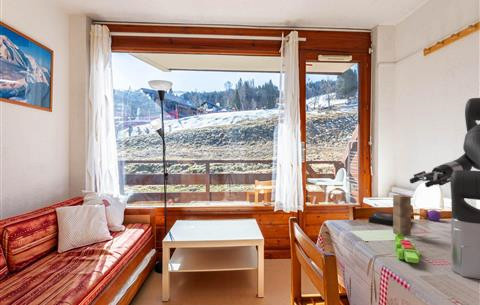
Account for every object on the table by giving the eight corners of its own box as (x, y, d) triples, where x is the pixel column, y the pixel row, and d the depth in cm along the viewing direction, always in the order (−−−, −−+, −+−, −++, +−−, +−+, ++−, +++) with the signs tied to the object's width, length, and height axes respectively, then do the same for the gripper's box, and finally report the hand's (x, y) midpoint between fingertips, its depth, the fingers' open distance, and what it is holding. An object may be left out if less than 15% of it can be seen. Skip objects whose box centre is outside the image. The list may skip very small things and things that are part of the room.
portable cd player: (376, 217, 155) (376, 211, 155) (410, 222, 144) (410, 215, 144) (368, 223, 142) (368, 216, 142) (405, 230, 131) (405, 222, 131)
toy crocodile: (423, 269, 88) (423, 251, 88) (400, 265, 91) (400, 248, 91) (411, 248, 106) (411, 233, 106) (392, 246, 109) (392, 231, 109)
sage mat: (401, 230, 129) (401, 229, 129) (422, 240, 115) (422, 239, 115) (349, 231, 128) (349, 230, 128) (364, 241, 114) (364, 240, 114)
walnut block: (403, 232, 125) (404, 194, 124) (411, 236, 120) (411, 196, 119) (393, 232, 124) (393, 195, 124) (400, 236, 119) (400, 197, 119)
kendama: (400, 208, 161) (441, 210, 147) (401, 218, 160) (442, 221, 146) (397, 207, 157) (439, 210, 143) (398, 218, 156) (440, 221, 142)
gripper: (432, 162, 129) (404, 173, 126) (461, 166, 115) (429, 178, 113) (435, 176, 130) (407, 187, 127) (464, 181, 116) (433, 194, 114)
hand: (418, 183), depth 120 cm, fingers open, 8 cm apart
